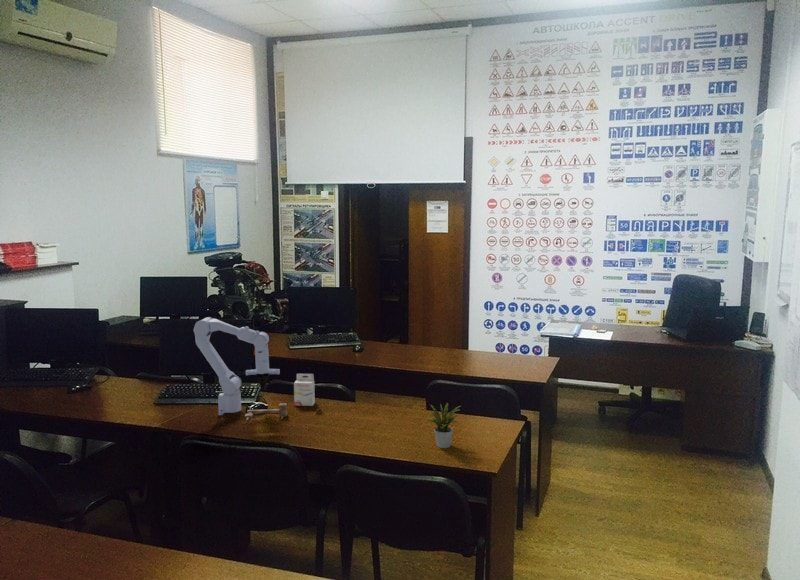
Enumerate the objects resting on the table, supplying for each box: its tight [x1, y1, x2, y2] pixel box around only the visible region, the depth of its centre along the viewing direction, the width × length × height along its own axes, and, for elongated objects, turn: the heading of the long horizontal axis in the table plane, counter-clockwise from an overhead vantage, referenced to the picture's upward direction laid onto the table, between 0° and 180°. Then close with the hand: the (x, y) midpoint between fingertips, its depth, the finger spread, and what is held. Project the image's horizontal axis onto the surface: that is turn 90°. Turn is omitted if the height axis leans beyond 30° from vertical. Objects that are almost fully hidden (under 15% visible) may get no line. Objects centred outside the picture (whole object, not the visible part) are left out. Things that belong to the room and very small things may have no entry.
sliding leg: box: [278, 402, 288, 420], centre depth 267 cm, size 3×10×5 cm, turn 2°
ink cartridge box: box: [293, 373, 316, 407], centre depth 282 cm, size 9×5×15 cm, turn 84°
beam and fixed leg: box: [244, 408, 279, 421], centre depth 267 cm, size 17×10×2 cm, turn 92°
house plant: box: [426, 402, 461, 449], centre depth 229 cm, size 14×14×16 cm
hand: (263, 390), depth 274 cm, fingers closed
